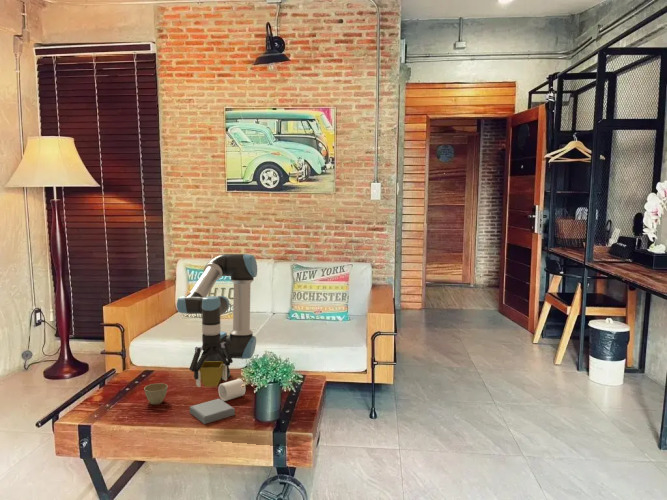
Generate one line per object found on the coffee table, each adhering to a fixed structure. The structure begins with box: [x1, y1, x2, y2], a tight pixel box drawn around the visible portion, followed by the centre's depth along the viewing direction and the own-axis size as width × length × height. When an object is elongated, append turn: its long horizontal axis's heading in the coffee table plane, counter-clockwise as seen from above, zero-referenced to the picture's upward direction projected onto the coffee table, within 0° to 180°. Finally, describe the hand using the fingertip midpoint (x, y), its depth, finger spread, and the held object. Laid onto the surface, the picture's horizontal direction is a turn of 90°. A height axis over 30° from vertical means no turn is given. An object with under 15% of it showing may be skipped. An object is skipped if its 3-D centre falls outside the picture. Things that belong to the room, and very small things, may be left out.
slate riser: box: [189, 398, 236, 425], centre depth 207 cm, size 14×14×3 cm
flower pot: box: [199, 361, 224, 387], centre depth 205 cm, size 9×9×9 cm
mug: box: [217, 378, 246, 402], centre depth 225 cm, size 12×10×8 cm
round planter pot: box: [143, 382, 169, 405], centre depth 218 cm, size 10×10×7 cm
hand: (211, 382), depth 205 cm, fingers closed on flower pot, 12 cm apart
